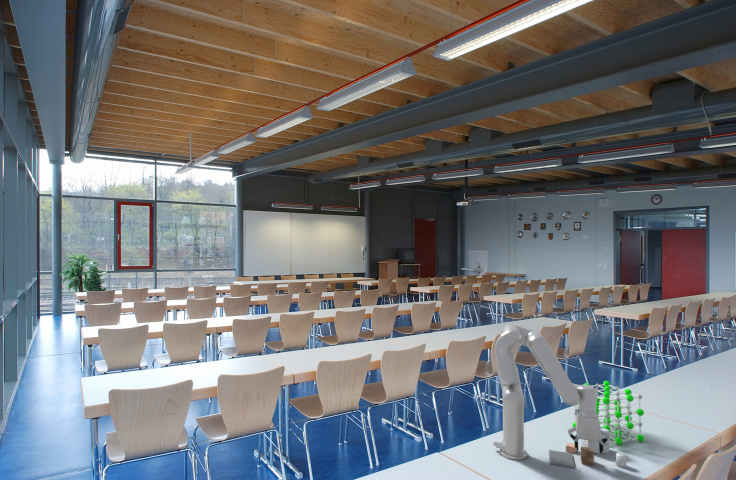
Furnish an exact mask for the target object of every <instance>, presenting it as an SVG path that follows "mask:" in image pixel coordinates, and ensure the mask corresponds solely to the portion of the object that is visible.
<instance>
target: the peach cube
mask: <svg viewBox="0 0 736 480" xmlns="http://www.w3.org/2000/svg"><path fill="white" fill-rule="evenodd" d="M565 452H566V453H572V454H576V453H577V452H578V451H577V449H576V448H575V443H571V442H567V443H566V445H565Z"/></svg>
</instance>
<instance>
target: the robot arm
mask: <svg viewBox="0 0 736 480" xmlns="http://www.w3.org/2000/svg"><path fill="white" fill-rule="evenodd" d="M494 344H495V345H494V353H495V359H496V360H495V361H496V366H497V374H498V377H499V383H500V386H501V390H502V391H501V392H502V393H501V394H502V441H500V442H498V441H493V446H495V449H499V453H500V455H501V456H503V457H504V458H507V459H511V460H515V461H516V460H519V461H520V460H524V459H526V458H528V451H527V450H526V449H525V430H524V429H525V419H524V418H525V416H524V415H525V397H524V396H525V395H524V392H523V388H522V384H521V380H520V374H519V369H518V366H517V364H516V360H515V354H514V351H515V350H514V349H515V347H516V346H517V345H520V346H524V347H527V348H528V349H529V351H530V352H531V354H532V355H533V357H534V358H535V360H536V361H537V363H538V364H539V367H540V368H541V369H542V370H543V373H544V374H545V375H546V377H547V379H549V381H550V382H551V384H552V386H553V387H554V389H555V390H556V392H557V394H558V395H559V396H560V398H561V400H562V401H563V403H565V404H566V405H568V406H574V407H575V405H576V404H578V405H576V406H577V408H576V410H575V409H574V412H575V413H578V414H577V418H576V427H574V428H573V427H572V428H569V429H567V433H568V435H569V436H570V438H571V439H572V440H573V443H574V444H575V448H576V449H577V451H576V452H578V451H579V440H582V439H584V440H593V441H599V451H600V453H599V454H603V453H602V451H603V445H604V443H605V442H607V440H608V438H609V439H610V437H611V436H610V433H609V434H608V433H606V432H604V431H602V430H601V428H600V422H601V420H600V419H599V418H598V416H599V415H598V416H597V411H596V390H595V389H596V387H595V386H592V385H590V384H589V385H584V384H577V383H572V381H571V379H570V378H569V376H568V375H567V373H566V371H565V370H564V367H563V365H562V364H561V362H560V360H559V358H558V357H557V356H556V354H555V353H554V351H553V350H552V347H550V345H549V343H548V342H547V340H546V339H545V337H544V336H543V334H541V333H540V332H538V331H535V330H532V329H528V328H525V327H521V326H518V325H516V324H508V325H505V326H504V327H503V330H502V333H501V335H499V336H498V338H497V340H496V341H495V343H494ZM574 432H575V433H576V435H574V434H573V433H574ZM601 434H603V435H605V438H603V439H601Z"/></svg>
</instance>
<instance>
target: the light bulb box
mask: <svg viewBox="0 0 736 480" xmlns="http://www.w3.org/2000/svg"><path fill="white" fill-rule="evenodd" d="M603 426H604V425H603ZM603 426H600V428H601V430H602V431H604V432H606V433H608V434H609V435H610V431H609V430H607V429H606V428H604V427H603ZM603 438H605V435H603V434H601V439H603ZM609 442H610V437H609V438H608V440H607V442H605V443H604V445H603V451H602V454H610V444H609ZM581 446H582V447H588V448H593V451H594V454H601V453H600V451H599V441H593V440H584V439H581Z"/></svg>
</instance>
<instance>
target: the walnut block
mask: <svg viewBox="0 0 736 480" xmlns="http://www.w3.org/2000/svg"><path fill="white" fill-rule="evenodd" d="M580 462H581V465H583V466H584V465H585V466H591V467H594V466H595V453H594V451H593V448H588V447H582V445H581V446H580Z"/></svg>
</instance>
